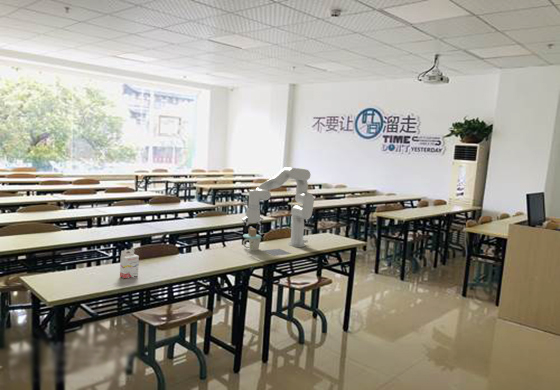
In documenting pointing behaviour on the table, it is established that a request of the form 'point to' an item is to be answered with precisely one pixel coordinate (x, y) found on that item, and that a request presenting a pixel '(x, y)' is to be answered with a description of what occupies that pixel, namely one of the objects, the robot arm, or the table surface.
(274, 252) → the mat
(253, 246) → the mug
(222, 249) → the table surface
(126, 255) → the ink cartridge box
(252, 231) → the lid
